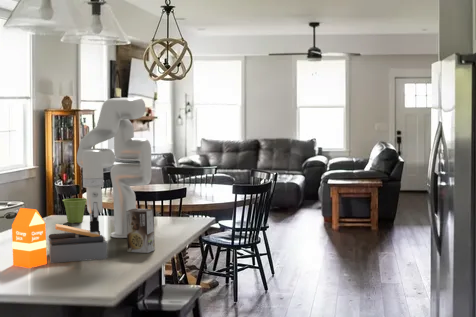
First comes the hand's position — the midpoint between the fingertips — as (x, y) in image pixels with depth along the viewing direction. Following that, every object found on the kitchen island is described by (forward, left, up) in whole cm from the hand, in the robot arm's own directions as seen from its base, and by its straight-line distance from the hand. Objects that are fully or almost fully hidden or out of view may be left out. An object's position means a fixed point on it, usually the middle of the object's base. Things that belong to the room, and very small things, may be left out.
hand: (94, 231), depth 247 cm
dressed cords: (+7, 0, -3) cm, 8 cm away
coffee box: (-18, -1, -9) cm, 20 cm away
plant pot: (+1, -83, -9) cm, 84 cm away
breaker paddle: (+6, 0, 0) cm, 6 cm away
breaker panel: (+6, 0, -9) cm, 11 cm away
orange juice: (+23, +8, -9) cm, 26 cm away
